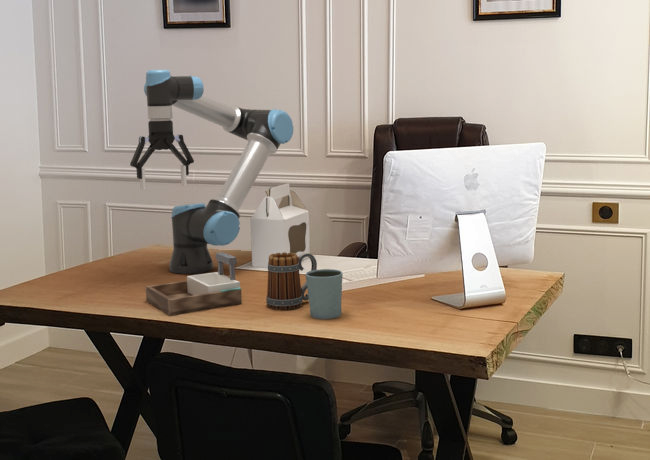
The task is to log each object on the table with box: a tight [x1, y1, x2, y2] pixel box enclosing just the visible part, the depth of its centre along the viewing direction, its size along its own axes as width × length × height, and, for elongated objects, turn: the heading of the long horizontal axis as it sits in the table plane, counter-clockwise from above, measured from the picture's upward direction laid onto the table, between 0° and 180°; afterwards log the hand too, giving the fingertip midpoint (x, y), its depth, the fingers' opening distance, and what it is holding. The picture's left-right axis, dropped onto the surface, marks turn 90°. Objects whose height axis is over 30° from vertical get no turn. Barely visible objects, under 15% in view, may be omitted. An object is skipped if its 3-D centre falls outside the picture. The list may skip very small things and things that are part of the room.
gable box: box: [250, 182, 311, 269], centre depth 302 cm, size 22×13×28 cm, turn 158°
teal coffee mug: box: [305, 268, 343, 320], centre depth 231 cm, size 10×10×12 cm
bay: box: [145, 280, 243, 317], centre depth 248 cm, size 22×20×5 cm
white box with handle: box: [186, 251, 241, 295], centre depth 251 cm, size 11×16×12 cm, turn 31°
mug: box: [265, 252, 318, 311], centre depth 242 cm, size 16×11×15 cm
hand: (163, 187), depth 266 cm, fingers open, 13 cm apart
